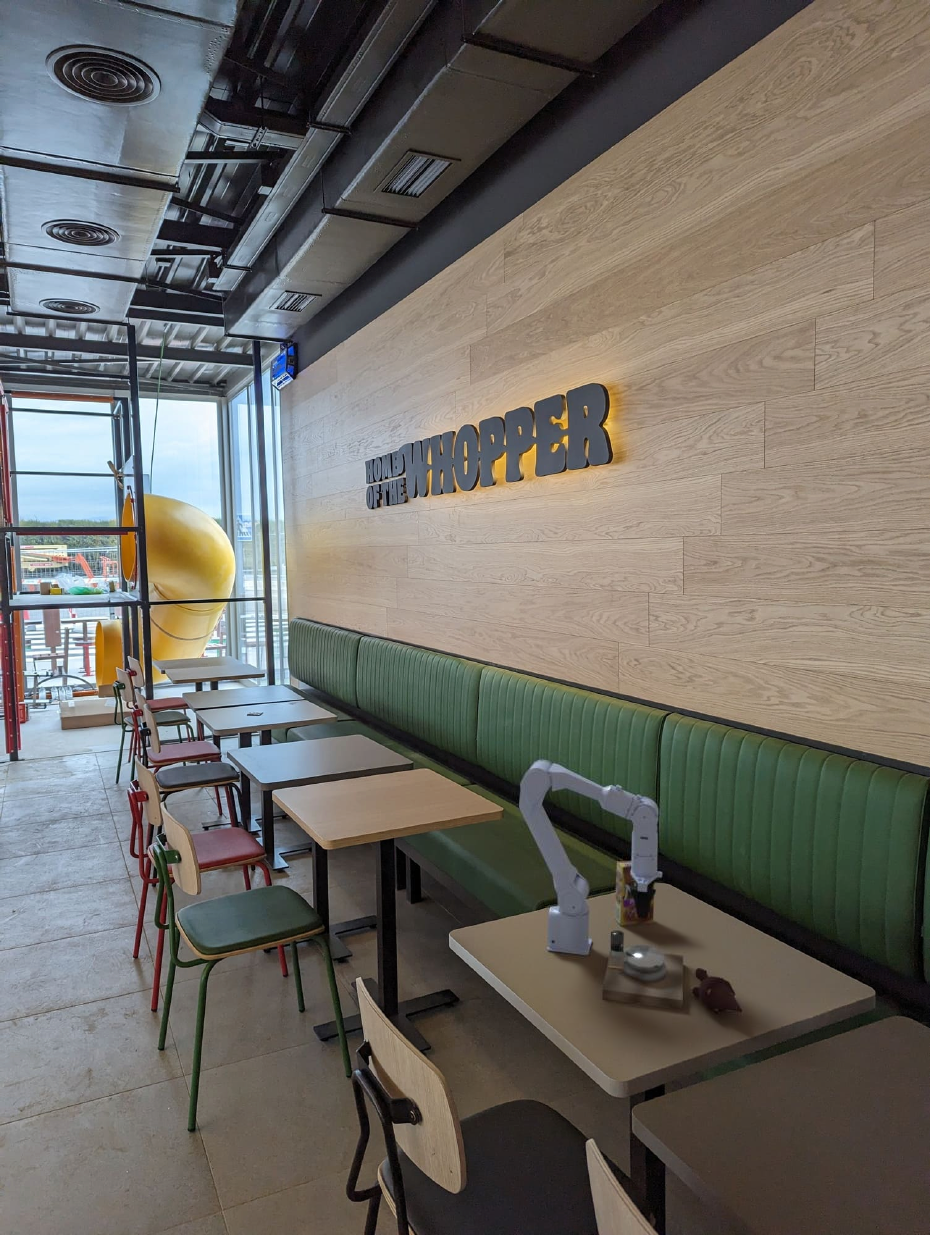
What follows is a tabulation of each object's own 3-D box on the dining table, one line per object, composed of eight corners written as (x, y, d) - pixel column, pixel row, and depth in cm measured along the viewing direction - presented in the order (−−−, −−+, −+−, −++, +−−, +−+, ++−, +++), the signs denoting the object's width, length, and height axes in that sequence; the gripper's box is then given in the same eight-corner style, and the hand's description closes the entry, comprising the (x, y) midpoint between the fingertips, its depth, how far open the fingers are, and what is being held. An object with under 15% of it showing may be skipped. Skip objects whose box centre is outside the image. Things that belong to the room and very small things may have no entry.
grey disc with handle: (666, 958, 180) (666, 933, 180) (660, 975, 173) (661, 948, 173) (614, 949, 185) (614, 924, 184) (606, 965, 177) (607, 939, 177)
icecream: (760, 993, 161) (712, 965, 175) (728, 990, 158) (683, 961, 173) (753, 1030, 160) (706, 999, 174) (722, 1027, 158) (677, 995, 172)
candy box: (621, 927, 205) (622, 866, 204) (614, 919, 209) (615, 860, 209) (654, 924, 207) (655, 864, 206) (647, 916, 211) (648, 858, 210)
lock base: (602, 998, 171) (602, 982, 171) (611, 955, 190) (611, 940, 190) (682, 1009, 167) (682, 993, 166) (683, 964, 186) (683, 949, 186)
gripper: (661, 865, 181) (660, 926, 182) (663, 844, 195) (662, 900, 195) (628, 862, 183) (627, 922, 183) (632, 841, 197) (631, 897, 197)
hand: (643, 911), depth 190 cm, fingers open, 7 cm apart
